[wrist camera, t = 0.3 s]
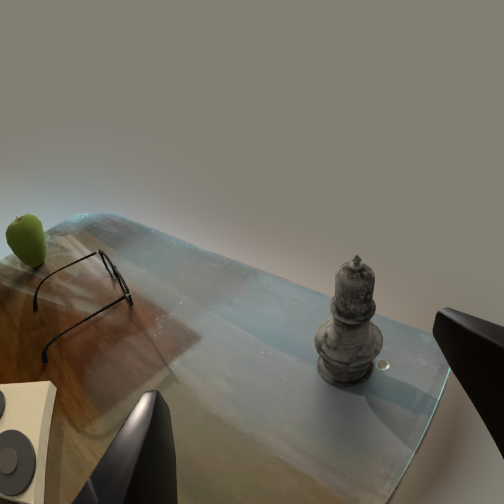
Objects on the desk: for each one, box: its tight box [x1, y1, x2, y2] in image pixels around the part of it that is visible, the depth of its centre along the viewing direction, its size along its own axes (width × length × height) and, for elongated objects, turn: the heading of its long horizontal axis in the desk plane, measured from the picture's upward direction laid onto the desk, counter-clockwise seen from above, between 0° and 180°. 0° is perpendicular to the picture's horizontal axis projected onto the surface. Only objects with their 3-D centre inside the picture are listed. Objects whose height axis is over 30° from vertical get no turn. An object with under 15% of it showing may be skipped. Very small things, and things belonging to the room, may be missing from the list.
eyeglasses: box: [33, 249, 133, 363], centre depth 36 cm, size 16×16×4 cm
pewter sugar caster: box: [314, 255, 383, 387], centre depth 22 cm, size 6×6×12 cm
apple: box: [6, 214, 46, 268], centre depth 48 cm, size 9×8×12 cm
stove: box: [0, 381, 57, 504], centre depth 18 cm, size 15×13×2 cm
